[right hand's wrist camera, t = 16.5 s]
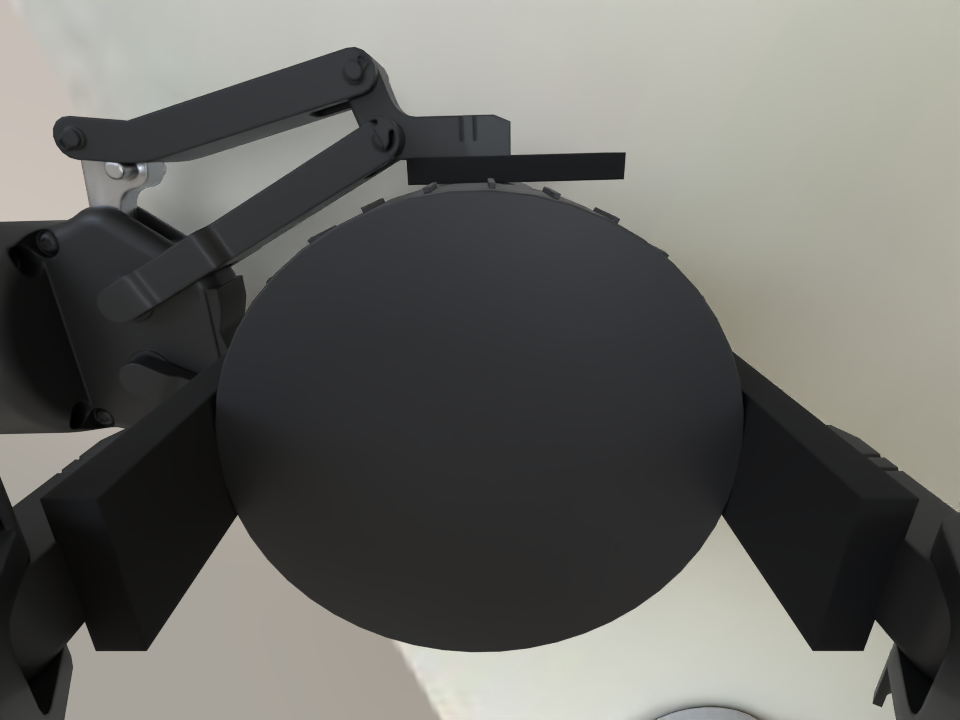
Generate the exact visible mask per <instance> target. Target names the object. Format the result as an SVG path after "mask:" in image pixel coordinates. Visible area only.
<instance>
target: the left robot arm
mask: <svg viewBox="0 0 960 720" xmlns="http://www.w3.org/2000/svg"><path fill="white" fill-rule="evenodd" d="M349 110H352V111H353V113H354V116H355V118H356V120H357V123H358V125H359V128H358V129H356V130H355V131H353V132H352V133H350V134H349V135H347V136H346V137H344V138H343V139H341V140H339V141H338V142H336V143H335V144H333V145H332V146H330V147H329V148H327V149H326V150H324V151H322V152H321V153H319V154H318V155H316V156H315V157H313V158H312V159H310V160H309V161H307V162H306V163H304V164H302V165H301V166H299V167H298V168H296V169H295V170H293V171H292V172H290V173H289V174H287V175H285V176H284V177H282V178H281V179H279V180H278V181H276V182H275V183H273V184H272V185H270V186H269V187H267V188H265V189H264V190H262V191H261V192H259V193H258V194H256V195H255V196H253V197H252V198H250V199H248V200H247V201H245V202H244V203H242V204H241V205H239V206H238V207H236V208H235V209H233V210H231V211H230V212H228V213H227V214H225V215H224V216H222V217H221V218H219V219H218V220H216V221H215V222H213V223H211V224H210V225H208V226H206V227H204V228H202V229H200V230H198V231H196V232H194V233H192V234H190V235H188V236H186V235H185V234H183V233H181V232H180V231H178V230H176V229H175V228H173V227H172V226H170V225H168V224H167V223H165V222H163V221H162V220H160V219H159V218H157V217H155V216H154V215H152V214H150V213H149V212H147V211H145V210H144V209H142V208H140V207H138V206H137V198H138V195H139V193H140V192H141V191H142V190H143V189H145V188H149V187H153V186H156V185H158V184H159V183H160V182H161V181H162V179H163V176H164V175H165V173H166V166H165V163H164V162H180V161H190V160H194V159H198V158H202V157H205V156H208V155H211V154H214V153H217V152H221V151H224V150H227V149H230V148H233V147H236V146H239V145H243V144H246V143H249V142H252V141H255V140H258V139H261V138H264V137H268V136H271V135H274V134H277V133H280V132H283V131H286V130H290V129H293V128H296V127H299V126H302V125H305V124H308V123H311V122H315V121H318V120H321V119H324V118H327V117H330V116H333V115H337V114H340V113H343V112H346V111H349ZM53 137H54V140H55V142H56V145H57V146H58V147H59V149H60V150H61V151H62V152H63V153H64V154H66V155H67V156H68V157H70V158H73V159H77V160H81V163H82V169H83V174H84V179H85V184H86V190H87V195H88V200H89V205H90V207H89V208H86V209H84V210H82V211H81V212H79V213H78V214H77V215H76V216H74V217H73V218H71V219H69V220H54V221H16V222H0V434H25V433H69V432H81V431H89V430H95V429H102V428H109V427H120V428H125V429H126V428H128V427H132V426H133V425H134V424H136V423H137V422H138V421H139V420H141V419H142V418H143V417H144V416H146V415H147V414H148V413H149V412H151V411H152V410H153V409H155V408H156V407H157V406H158V405H160V404H161V403H162V402H163V401H165V400H166V399H167V398H169V397H170V396H171V395H172V394H174V393H175V392H176V391H177V390H179V389H180V388H181V387H183V386H184V385H185V384H186V383H188V382H189V381H190V380H191V379H193V378H194V377H195V376H197V375H198V374H199V373H200V372H202V371H203V370H204V369H205V368H207V367H208V366H209V365H210V364H212V363H213V362H214V361H216V360H217V359H218V358H219V357H221V356H222V355H223V354H224V353H226V352H227V351H228V349H229V347H230V344H231V341H232V339H233V336H234V334H235V331H236V329H237V328H238V326H239V324H240V323H241V321H242V319H243V317H244V316H245V305H246V292H245V287H244V281H243V276H236V275H235V273H234V271H233V270H232V268H231V266H233V265H235V264H236V263H238V262H239V261H241V260H243V259H244V258H246V257H247V256H249V255H251V254H252V253H254V252H255V251H257V250H259V249H260V248H261V247H262V246H264V245H265V244H267V243H268V242H270V241H271V240H273V239H275V238H276V237H278V236H279V235H281V234H283V233H284V232H286V231H287V230H289V229H291V228H292V227H294V226H295V225H297V224H299V223H300V222H302V221H303V220H305V219H307V218H308V217H310V216H311V215H313V214H315V213H316V212H318V211H319V210H321V209H323V208H324V207H326V206H328V205H329V204H331V203H332V202H334V201H336V200H337V199H339V198H340V197H342V196H344V195H345V194H347V193H348V192H350V191H352V190H353V189H355V188H356V187H358V186H360V185H361V184H363V183H364V182H366V181H368V180H369V179H371V178H372V177H374V176H376V175H377V174H379V173H380V172H382V171H384V170H385V169H387V168H388V167H390V166H392V165H393V164H395V163H396V162H398V161H400V160H407V172H408V185H429V184H431V183H433V182H437V184H460V183H488V178H493V179H494V181H495V183H503V182H540V181H578V180H615V179H624V169H625V155H626V152H624V153H572V154H536V155H510V121H508V120H505V119H503V118H501V117H498V116H496V115H464V116H429V117H413V116H408V115H407V114H405V113H404V112H403V111H402V110H401V108H400V107H399V105H398V103H397V101H396V98H395V96H394V93H393V91H392V89H391V86H390V84H389V79H388V75H387V73H386V71H385V69H384V68H383V67H382V66H381V65H380V64H379V63H378V62H377V61H375V60H374V59H373V58H372V57H371V56H370V55H368V54H367V53H366V52H365V51H364V50H362V49H359V48H356V47H351V48H345V49H342V50H339V51H336V52H333V53H330V54H327V55H324V56H321V57H318V58H315V59H312V60H309V61H306V62H303V63H300V64H297V65H294V66H291V67H288V68H285V69H282V70H279V71H276V72H273V73H270V74H267V75H264V76H261V77H258V78H255V79H252V80H249V81H246V82H242V83H239V84H236V85H233V86H230V87H227V88H224V89H221V90H218V91H215V92H212V93H209V94H206V95H203V96H200V97H197V98H194V99H191V100H188V101H185V102H182V103H179V104H176V105H173V106H170V107H167V108H164V109H161V110H158V111H155V112H152V113H149V114H146V115H143V116H140V117H137V118H134V119H131V120H128V121H126V120H113V119H101V118H89V117H76V116H66V117H61V118H60V119H59V120H57V121H56V123H55V125H54V127H53Z"/></svg>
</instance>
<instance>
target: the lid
mask: <svg viewBox="0 0 960 720" xmlns="http://www.w3.org/2000/svg"><path fill="white" fill-rule="evenodd" d="M560 195H561V194H559V193H557V192H556V191H554V190H552V189H550V188H547V187H544V188H543V191H539V190H535V189H531V188H528V187H524V186H516V185H507V184H497V183H495V181H494V179H493V178H488V183H460V184H450V185H445V186H439V187H437V182H433V183H431V184H429V185H427V186H426V187H424V188H423V189H422V190H419V191H415V192H412V193H409V194H406V195H403V196H400V197H397V198H393V199H391V200H388V201H386V202H385V201H384V199H383V198H382V199H379V200H377V201H375V202H373V203H371V204H368V205H366V206H364V207H362V208H361V209H362V212H363V213H361V214H359V215H358V216H356V217H354V218H352V219H350V220H348V221H346V222H344V223H342V224H340V225H338V226H336V225H335V226H333V227H331V228H329V229H327V230H325V231H323V232H321V233H319V234H317V235H315V236H313V237H311V238H310V239H309V240H308V242H309V243H310V244H309V245H307V246H306V247H304V248H303V249H302V250H301V251H300V252H298V253H297V254H296V255H295V256H294V257H293V258H292V259H291V260H290V261H289V262H287V263H286V264H285V265H284V266H283V267H282V268H281V269H280V270H279V271H278V272H276V273H275V275H274V276H273V277H271V278H269V279H268V281H267V282H266V283H267V284H266V286H265V287H264V288H263V289H262V291H261V292H260V293H259V294H258V296H257V297H256V298H255V299H254V300H253V302H252V304H251V305H250V307H249V309H248V310H247V312H246V314H245V316H244V317H243V319H242V321H241V323H240V324H239V326H238V328H237V329H236V331H235V334H234V336H233V339H232V341H231V344H230V347H229V349H228V352H227V354H226V357H225V360H224V362H223V367H222V371H221V376H220V381H219V385H218V390H217V398H216V415H215V431H216V441H217V446H218V452H219V457H220V461H221V466H222V470H223V475H224V480H225V484H226V488H227V491H228V493H229V496H230V498H231V501H232V503H233V506H234V508H235V511H236V512H237V514H238V516H239V518H240V520H241V521H242V523H243V525H244V527H245V528H246V530H247V532H248V534H249V535H250V537H251V538H252V540H253V541H254V542H255V544H256V545H257V546H258V547H259V549H260V550H261V551H262V553H263V554H264V555H265V557H266V558H267V559H268V560H269V562H270V563H271V564H272V565H273V566H274V567H275V568H276V569H277V570H278V571H279V572H280V573H281V574H282V575H283V576H284V577H285V578H286V579H287V580H288V581H289V582H290V583H292V584H293V585H294V586H295V587H296V588H298V589H299V590H300V591H301V592H303V593H304V594H305V595H306V596H307V597H309V598H310V599H311V600H313V601H314V602H316V603H318V604H319V605H321V606H322V607H324V608H325V609H327V610H328V611H330V612H331V613H333V614H335V615H337V616H339V617H341V618H343V619H345V620H347V621H349V622H351V623H352V624H354V625H356V626H358V627H361V628H363V629H366V630H368V631H371V632H374V633H376V634H379V635H381V636H384V637H387V638H390V639H394V640H398V641H401V642H405V643H408V644H412V645H417V646H422V647H428V648H434V649H440V650H449V651H463V652H501V651H509V650H518V649H527V648H532V647H537V646H542V645H546V644H551V643H556V642H559V641H562V640H565V639H569V638H572V637H575V636H578V635H581V634H584V633H587V632H589V631H591V630H593V629H596V628H598V627H600V626H603V625H605V624H607V623H610V622H612V621H613V620H615V619H617V618H619V617H620V616H622V615H624V614H626V613H628V612H629V611H631V610H633V609H635V608H636V607H638V606H639V605H640V604H642V603H643V602H645V601H646V600H647V599H649V598H650V597H652V596H653V595H654V594H656V593H657V592H659V591H660V590H661V589H662V588H663V587H664V586H665V585H666V584H668V583H669V582H670V581H671V580H672V579H673V578H674V577H675V576H676V575H678V574H679V573H680V572H681V571H682V570H683V568H684V567H685V566H686V565H687V564H688V563H689V562H690V560H691V559H692V558H693V557H694V556H695V555H696V553H697V552H698V551H699V550H700V549H701V547H702V546H703V544H704V543H705V541H706V540H707V538H708V537H709V535H710V534H711V532H712V531H713V529H714V528H715V526H716V524H717V522H718V520H719V518H720V516H721V514H722V512H723V510H724V508H725V506H726V504H727V502H728V500H729V497H730V494H731V491H732V488H733V485H734V481H735V477H736V473H737V468H738V463H739V458H740V453H741V448H742V444H743V435H744V406H743V398H742V391H741V383H740V378H739V374H738V371H737V367H736V364H735V360H734V357H733V353H732V350H731V347H730V345H729V343H728V341H727V339H726V337H725V334H724V332H723V330H722V328H721V326H720V324H719V322H718V319H717V318H716V316H715V315H714V313H713V312H712V310H711V309H710V307H709V306H708V304H707V303H706V301H705V299H704V297H703V296H702V295H701V294H700V292H699V291H698V289H697V288H696V287H695V286H694V285H693V284H692V283H691V282H690V281H689V280H688V279H687V277H686V276H685V275H684V274H683V273H682V272H681V271H680V270H679V269H678V268H677V267H676V266H675V264H674V263H673V262H671V261H670V260H669V259H668V258H667V257H668V256H669V255H668V254H667V253H666V252H664V251H662V250H660V249H659V248H657V247H655V246H653V245H651V244H649V243H648V242H646V241H645V240H644V239H642V238H641V237H639V236H637V235H636V234H634V233H632V232H630V231H629V230H627V229H625V228H624V227H622V226H620V225H619V224H617V223H618V222H619V220H620V219H619V218H617V217H615V216H613V215H611V214H609V213H607V212H605V211H602V210H600V209H598V208H596V207H595V208H594V210H593V211H592V210H591V209H589V208H587V207H585V206H582V205H580V204H577V203H575V202H572V201H570V200H567V199H565V198H562V197H560Z"/></svg>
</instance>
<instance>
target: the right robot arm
mask: <svg viewBox="0 0 960 720" xmlns="http://www.w3.org/2000/svg"><path fill="white" fill-rule="evenodd" d="M227 352H228V351H227ZM227 352H226V353H224V354H223V355H222V356H221V357H219V358H218V359H217V360H216V361H214V362H213V363H212V364H210V365H209V366H208V367H207V368H205V369H204V370H203V371H202V372H200V373H199V374H198V375H197V376H195V377H194V378H193V379H191V380H190V381H189V382H188V383H186V384H185V385H184V386H183V387H181V388H180V389H179V390H177V391H176V392H175V393H174V394H172V395H171V396H170V397H169V398H167V399H166V400H165V401H163V402H162V403H161V404H160V405H158V406H157V407H156V408H155V409H153V410H152V411H151V412H149V413H148V414H147V415H146V416H144V417H143V418H142V419H141V420H139V421H138V422H137V423H136V424H134V425H133V426H132V427H128V428H126V429H124V430H122V431H120V432H117V433H115V434H113V435H111V436H109V437H107V438H105V439H103V440H101V441H99V442H98V443H97V444H95V445H94V446H93V447H91V448H90V449H89V450H87V451H86V452H85V453H83V454H82V455H81V456H80V458H79V460H74V461H73V462H72V463H70V464H69V465H68V466H66V467H65V468H64V469H62V473H57V474H56V475H54V476H53V477H52V478H50V479H49V480H48V481H47V482H45V483H44V484H43V485H41V486H40V487H39V488H37V489H36V490H35V491H33V492H32V493H31V494H29V495H28V496H27V497H25V498H24V499H23V500H21V501H20V502H19V503H18V504H16V505H15V506H14V507H12V506H11V503H10V501H9V498H8V495H7V493H6V490H5V488H4V485H3V483H2V480H1V478H0V720H64V718H65V712H66V706H67V700H68V694H69V688H70V682H71V676H72V670H73V664H72V658H71V654H70V652H69V649H68V647H67V642H68V641H69V640H70V639H71V638H72V636H73V635H74V634H75V633H76V632H77V631H78V629H79V628H80V627H81V626H82V625H83V623H84V622H85V623H86V626H87V628H88V631H89V634H90V636H91V639H92V642H93V645H94V647H95V650H96V651H147V650H148V648H149V647H150V645H151V644H152V642H153V641H154V639H155V638H156V636H157V635H158V633H159V632H160V630H161V629H162V627H163V626H164V624H165V623H166V621H167V620H168V618H169V617H170V615H171V614H172V612H173V611H174V609H175V608H176V606H177V605H178V603H179V602H180V600H181V599H182V597H183V596H184V594H185V593H186V591H187V590H188V588H189V587H190V585H191V584H192V582H193V581H194V579H195V578H196V576H197V575H198V573H199V572H200V570H201V569H202V567H203V566H204V564H205V563H206V561H207V560H208V558H209V557H210V555H211V554H212V552H213V551H214V549H215V548H216V546H217V545H218V543H219V542H220V540H221V539H222V537H223V536H224V534H225V533H226V531H227V530H228V528H229V527H230V525H231V524H232V522H233V521H234V519H235V518H236V516H237V515H238V514H237V512H236V511H235V508H234V506H233V503H232V501H231V498H230V496H229V493H228V491H227V488H226V484H225V480H224V475H223V470H222V466H221V461H220V457H219V452H218V446H217V441H216V431H215V415H216V398H217V390H218V385H219V381H220V376H221V371H222V367H223V362H224V360H225V357H226V354H227ZM732 353H733V357H734V360H735V364H736V367H737V371H738V374H739V378H740V383H741V391H742V398H743V406H744V435H743V444H742V448H741V453H740V458H739V463H738V468H737V473H736V477H735V481H734V485H733V488H732V491H731V494H730V497H729V500H728V502H727V504H726V506H725V508H724V510H723V512H722V516H723V517H724V519H725V520H726V522H727V523H728V525H729V526H730V528H731V529H732V531H733V532H734V534H735V535H736V537H737V538H738V540H739V541H740V543H741V544H742V546H743V547H744V549H745V550H746V552H747V553H748V555H749V556H750V558H751V559H752V561H753V562H754V564H755V565H756V567H757V568H758V570H759V571H760V573H761V574H762V576H763V577H764V579H765V580H766V582H767V583H768V585H769V586H770V588H771V589H772V591H773V592H774V594H775V595H776V597H777V598H778V600H779V601H780V603H781V604H782V606H783V607H784V609H785V610H786V612H787V613H788V615H789V616H790V618H791V619H792V621H793V622H794V624H795V625H796V627H797V628H798V630H799V631H800V633H801V634H802V636H803V637H804V639H805V640H806V642H807V643H808V645H809V646H810V648H811V649H812V651H864V648H865V645H866V643H867V640H868V637H869V635H870V632H871V629H872V626H873V624H874V621H875V620H876V621H877V622H878V623H879V625H880V626H881V627H882V628H883V629H884V631H885V632H886V633H887V634H888V635H889V636H890V638H891V639H892V640H893V641H894V644H893V647H892V649H891V652H890V654H889V657H888V659H887V662H886V664H885V667H884V669H883V672H882V675H881V677H880V680H879V682H878V685H877V687H876V690H875V692H874V698H873V704H875V705H877V706H880V707H882V706H883V703H884V701H885V698H886V696H887V695H888V694H890V693H892V698H893V704H894V710H895V716H896V720H960V513H958V512H956V511H955V510H954V509H952V508H951V507H950V506H948V505H947V504H946V503H944V502H943V501H942V500H940V499H939V498H938V497H936V496H935V495H934V494H932V493H931V492H930V491H928V490H927V489H926V488H924V487H923V486H922V485H920V484H919V483H918V482H916V481H915V480H914V479H912V478H911V477H910V476H909V475H907V474H906V473H905V472H903V471H898V467H897V466H895V465H894V464H893V463H891V462H890V461H889V460H887V459H886V458H881V457H880V454H879V453H878V452H877V451H875V450H874V449H873V448H871V447H870V446H869V445H867V444H866V443H865V442H863V441H862V440H861V439H859V438H857V437H855V436H853V435H851V434H849V433H847V432H845V431H842V430H840V429H838V428H836V427H834V426H832V425H825V424H824V423H823V422H821V421H820V420H819V419H818V418H816V417H815V416H814V415H812V414H811V413H810V412H809V411H807V410H806V409H805V408H804V407H802V406H801V405H800V404H798V403H797V402H796V401H795V400H793V399H792V398H791V397H790V396H788V395H787V394H786V393H784V392H783V391H782V390H781V389H779V388H778V387H777V386H776V385H774V384H773V383H772V382H770V381H769V380H768V379H767V378H765V377H764V376H763V375H762V374H760V373H759V372H758V371H757V370H755V369H754V368H753V367H751V366H750V365H749V364H748V363H746V362H745V361H744V360H743V359H741V358H740V357H739V356H737V355H736V354H735V353H734V352H732Z"/></svg>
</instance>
